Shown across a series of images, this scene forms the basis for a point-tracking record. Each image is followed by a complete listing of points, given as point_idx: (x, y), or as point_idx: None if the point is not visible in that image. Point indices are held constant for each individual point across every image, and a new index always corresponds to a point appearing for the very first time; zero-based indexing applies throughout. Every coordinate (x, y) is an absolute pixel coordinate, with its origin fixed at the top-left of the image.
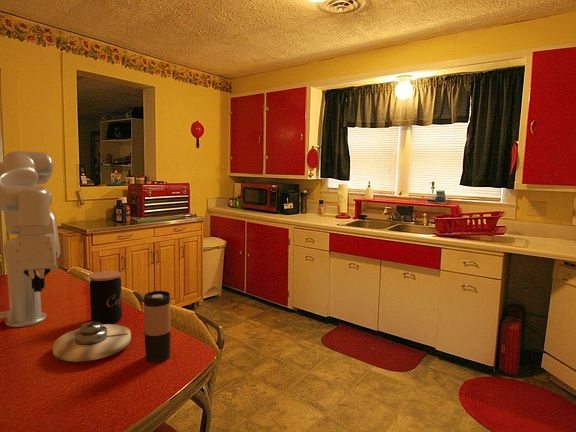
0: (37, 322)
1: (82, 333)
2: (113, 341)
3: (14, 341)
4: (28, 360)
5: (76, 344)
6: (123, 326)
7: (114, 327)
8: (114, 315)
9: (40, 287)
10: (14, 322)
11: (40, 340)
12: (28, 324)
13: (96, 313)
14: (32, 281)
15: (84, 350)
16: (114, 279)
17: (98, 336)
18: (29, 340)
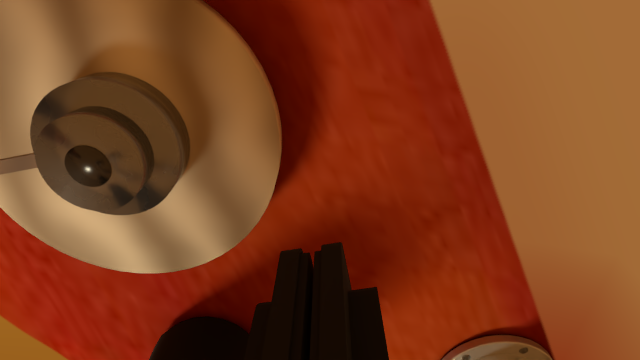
0: (446, 356)
1: (120, 117)
2: (1, 97)
3: (476, 232)
4: (361, 63)
5: (161, 88)
6: (51, 246)
7: (85, 240)
8: (156, 350)
9: (279, 288)
10: (522, 356)
11: (384, 228)
12: (471, 343)
13: (214, 355)
14: (376, 355)
15: (85, 13)
16: None
17: (44, 100)
18: (424, 233)
